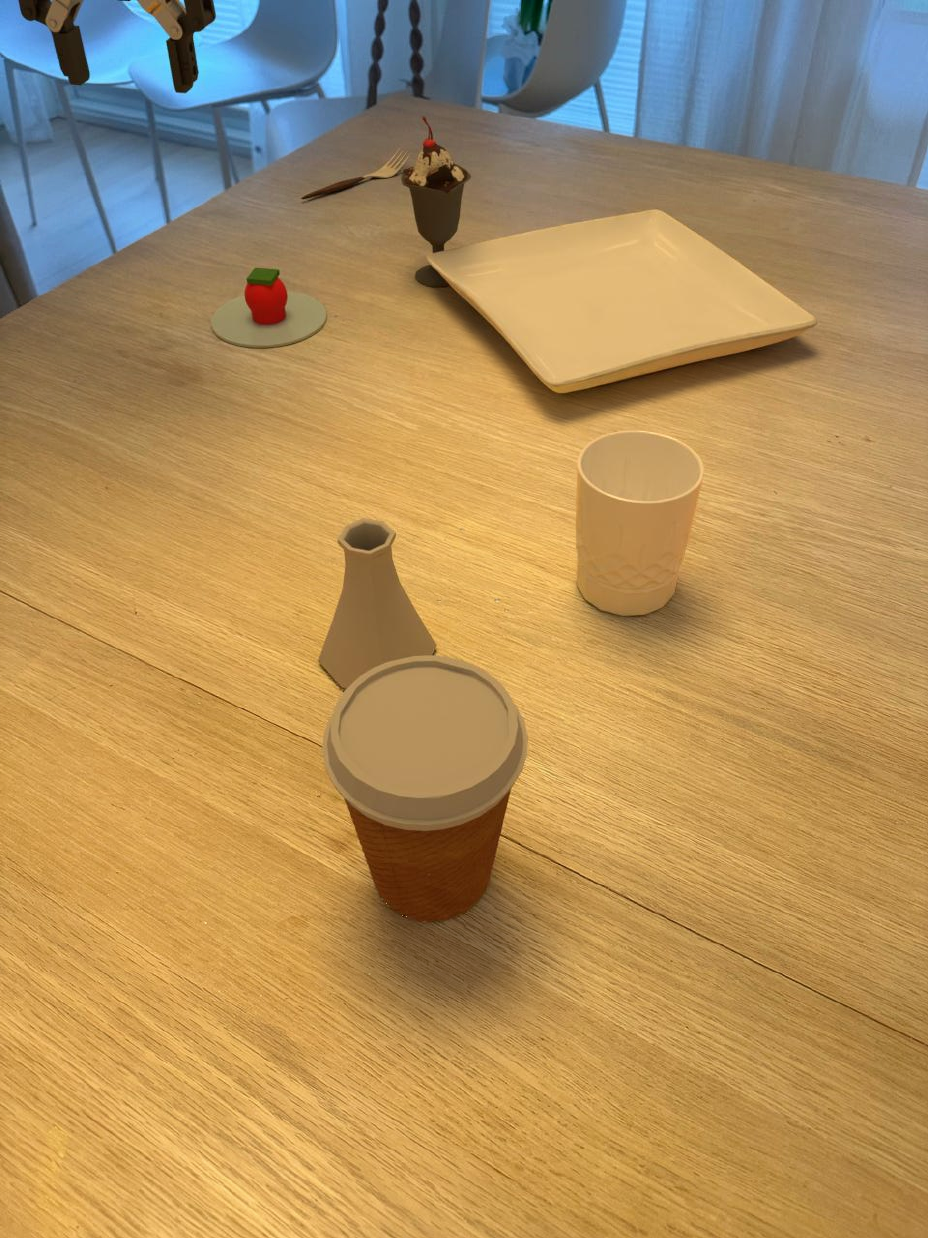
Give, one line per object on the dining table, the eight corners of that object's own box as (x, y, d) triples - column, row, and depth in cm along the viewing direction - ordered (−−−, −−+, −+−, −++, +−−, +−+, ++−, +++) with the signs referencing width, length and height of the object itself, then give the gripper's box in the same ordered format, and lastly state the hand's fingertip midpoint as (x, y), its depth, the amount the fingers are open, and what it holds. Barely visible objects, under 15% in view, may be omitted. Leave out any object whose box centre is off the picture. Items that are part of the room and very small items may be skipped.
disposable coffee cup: (335, 953, 53) (309, 808, 44) (349, 798, 60) (329, 648, 51) (525, 951, 53) (534, 806, 44) (517, 797, 60) (524, 647, 51)
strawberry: (242, 324, 100) (234, 281, 97) (256, 305, 103) (250, 262, 100) (282, 328, 99) (276, 285, 96) (295, 308, 102) (290, 266, 99)
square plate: (549, 423, 87) (551, 382, 85) (423, 287, 106) (421, 249, 103) (814, 353, 95) (824, 313, 93) (655, 237, 114) (659, 201, 111)
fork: (295, 199, 122) (293, 182, 121) (399, 164, 130) (399, 147, 129) (308, 206, 121) (306, 188, 119) (413, 169, 129) (413, 152, 127)
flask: (298, 666, 67) (277, 545, 60) (369, 603, 72) (357, 483, 65) (387, 714, 64) (377, 592, 57) (456, 645, 69) (453, 524, 62)
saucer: (193, 342, 98) (193, 339, 98) (235, 288, 106) (235, 286, 106) (306, 352, 96) (306, 350, 96) (340, 298, 104) (340, 295, 104)
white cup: (681, 629, 69) (703, 508, 62) (562, 616, 70) (571, 495, 64) (684, 554, 75) (704, 435, 68) (573, 542, 76) (583, 424, 69)
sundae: (424, 256, 111) (418, 105, 100) (482, 268, 109) (482, 115, 98) (394, 282, 106) (385, 127, 96) (453, 295, 104) (450, 138, 94)
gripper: (-48, -172, 68) (23, 95, 79) (160, -164, 66) (203, 108, 78) (9, -187, 74) (68, 65, 85) (203, -180, 72) (237, 77, 83)
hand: (132, 86), depth 81 cm, fingers open, 8 cm apart
